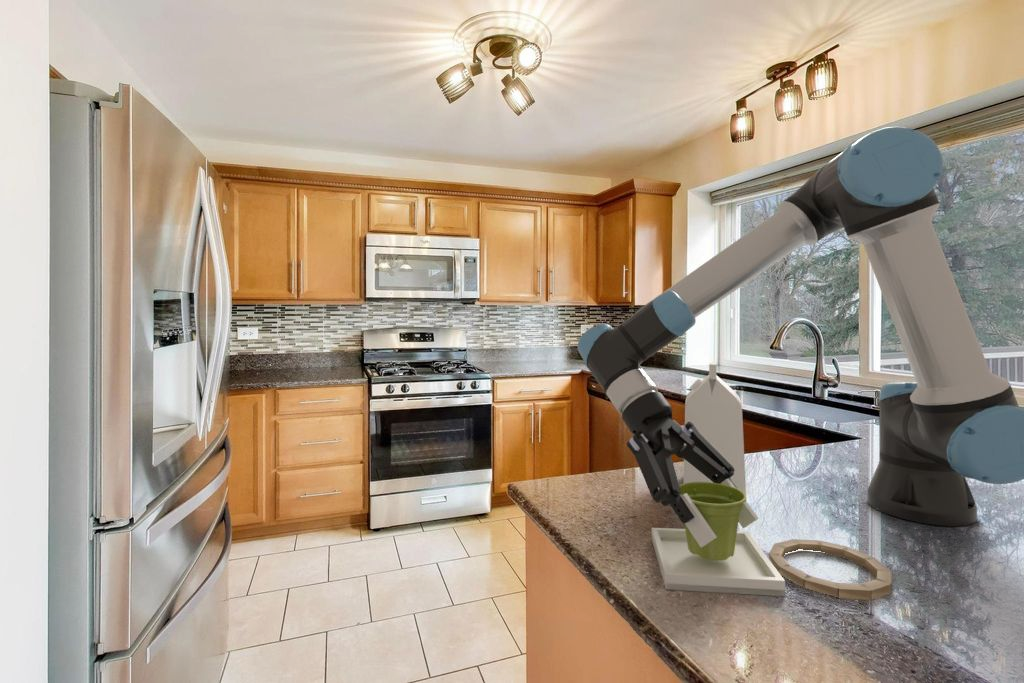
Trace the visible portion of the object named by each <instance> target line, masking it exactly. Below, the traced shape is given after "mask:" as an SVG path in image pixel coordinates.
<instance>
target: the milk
mask: <svg viewBox="0 0 1024 683" xmlns="http://www.w3.org/2000/svg"><path fill="white" fill-rule="evenodd" d="M717 366H718V365H717V361H709V366H708V367H709V368H708V375H706V376H705V377H704V378H703V379H701V378H700V377H699V378H697V380H695V381H694V382H693V383H692V384H691V385H690V387H689V388H690V389H691V390H690V391H689V392H688V393H687V394H686V398H685V404H684V409H685V410H684V425H685V424H686V423H687V422H692V423H693V424H694V426H695V427H696V429H697V430H698V432H699V433H700V434H701V435H702V436H703V437H704V438H705V439H706V440H707V441H708V442H709V443H710V444H711V445H712V446H713V447H714V448H715V449H716V450H717V451H718V452H719V453H720V454H721V455H722V456H723V457H724V458H725V459H726V460H727V461H728V462H729V463H730V464H731V466H732V467H733V468H734V470H735V471H734V475H733V476H731V477H730V479H731V481H732V482H733V483H734V485H735V486H736V487H737V489H739V490H741V491H743V492H744V493H745V494H746V495H747V490H746V489H747V488H746V487H747V486H746V484H747V483H746V467H745V466H746V464H745V443H744V440H745V439H744V424H743V422H744V421H743V406H742V401H741V397H740V396H739V394H737V392H735V390H734V389H732V387H730V386H729V385H728V384H727V383H726V382H725V381H724V380H723V379H722V378H721V377H720V376H718V375H717V370H718V368H717ZM685 445H686V444H685V443H684V446H685ZM723 468H724V467H723ZM716 476H717V475H716ZM689 482H711V483H714V482H712V481H711V480H710V479H709V478H707V477H706V476H705V475H704V474H702V473H701V472H700V471H699V470H697V469H696V468H695V467H694V466H693V465H691V464H690V463H689V462H688V461H686V460H685V459H684V458H683V483H682V484H684V483H689Z"/></svg>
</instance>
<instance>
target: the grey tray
mask: <svg viewBox="0 0 1024 683" xmlns="http://www.w3.org/2000/svg"><path fill="white" fill-rule="evenodd" d="M651 542H652V543H651V544H652V546H653V549H654V552H655V553H654V554H655V556H656V560H657V564H658V566H659V571H660V574H661V578H662V581H663V584H664V587H665V588H664V589H665V590H669V591H670V590H671V591H686V592H687V591H688V592H701V593H702V592H703V593H704V592H705V593H720V594H721V593H722V594H723V593H725V594H738V595H752V596H753V595H755V596H756V595H758V596H774V597H786V579H785V578H784V577H782V576H781V575H780V573H779V572H778V571H777V569H776V568H775V567H774V565H773V564H772V563H771V561H770V560H769V556H767V555H766V554H765V552H764V550H762V548H761V547H760V545H759V544H758V543H757V541H756V540H755V539H754V537H753V536H752V535H751V534H750V532H749V531H748V530H746V531H744V530H743V531H742V530H737V535H736V542H735V549H734V555H733V556H732V557H731V556H730V557H729V558H728V559H727V560H721V561H717V560H707V559H703V558H702V557H701V556H699V555H698V554H692V553H691V552H690V551H689V549H688V544H687V537H686V531H685V528H671V527H670V528H669V527H651Z"/></svg>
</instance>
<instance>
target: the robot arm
mask: <svg viewBox="0 0 1024 683" xmlns="http://www.w3.org/2000/svg"><path fill="white" fill-rule="evenodd" d="M943 162H944V161H943V156H942V153H941V150H940V148H939V147H938V145H937V143H936V142H935V141H934V140H933V139H932V138H931V137H929V136H928V135H927V134H925V133H924V132H921V131H920V130H917V129H912V128H909V127H906V126H890V127H883V128H881V129H877V130H874V131H872V132H870V133H868V134H865V135H864V136H863V137H861V138H858V139H857V140H854V141H853V142H851V143H850V144H849V145H848V146H847V147H846V148H845V149H844V150H843V151H842V152H840V153H839V154H837V155H836V156H835V157H833V158H832V159H831V160H829V161H828V162H826V163H824V165H822V166H821V167H820V168H819V169H818V170H817V171H816V172H815V173H814V174H813V175H812V176H811V177H810V178H809V179H808V180H807V181H805V183H804V184H802V185H801V186H800V187H799V188H798V189H797V190H795V192H793V193H792V194H791V195H789V196H788V197H787V198H785V199H784V200H783V201H781V202H780V203H779V204H778V207H777V212H775V213H774V214H772V215H771V216H769V217H768V218H767V219H765V220H764V221H762V222H761V223H760V224H758V225H757V226H755V227H754V228H752V229H751V230H750V231H748V232H746V234H745V233H744V235H742V236H741V237H740V238H738V239H737V240H735V241H734V242H732V243H731V244H730V245H728V246H726V248H724V249H722V250H721V251H720V252H718V253H717V254H716V255H714V256H712V257H711V258H710V259H709V260H707V261H705V262H704V263H702V264H701V265H699V267H697V268H696V269H695V270H693V271H692V272H690V273H688V274H687V275H686V276H684V277H683V278H682V279H680V280H678V281H677V282H676V283H675V284H673V285H671V286H670V287H669V288H667V289H666V290H665V291H663V292H662V293H661V294H659V295H657V296H656V297H654V298H653V299H652V300H651V301H649V302H647V303H646V304H645V305H642V306H641V307H639V308H638V309H636V311H634V314H632V315H631V316H630V317H629V318H627V319H626V320H625V321H623V323H621V324H619V325H618V326H616V327H612V325H610V324H608V323H600V324H596V326H592V327H590V328H588V329H587V330H586V331H585V332H584V333H583V334H581V336H580V337H579V339H578V342H577V351H578V353H579V354H580V356H581V358H582V360H583V361H584V363H585V366H586V368H587V369H588V370H589V372H590V373H591V374H592V375H591V376H593V378H594V379H595V380H596V382H597V384H598V385H599V386H600V388H601V389H602V390H603V392H604V394H605V395H606V396H607V397H608V399H609V400H610V402H611V403H612V405H613V407H614V408H615V409H616V411H617V412H618V414H619V415H621V419H622V421H623V422H624V424H625V425H626V427H627V429H629V431H630V432H631V434H632V436H631V438H630V439H629V440H628V441H626V446H627V447H628V448H629V450H630V452H631V453H632V454H633V455H634V458H635V460H636V462H637V464H638V467H639V469H640V471H641V474H642V477H643V479H644V481H645V483H646V484H645V485H647V488H648V491H649V493H650V496H651V497H652V498H651V499H652V500H653V501H654V502H655V503H661V504H662V506H664V507H667V506H669V505H670V507H671V508H672V510H673V511H674V512H675V514H676V516H677V517H678V518H679V520H680V522H682V523H683V524H684V525H685V524H686V526H687V527H688V529H689V531H690V532H691V534H692V535H693V537H694V538H695V540H696V541H697V543H698V544H699V546H700V547H704V546H705V545H707V544H708V543H710V542H711V541H712V540H714V539H715V538H717V536H716V535H715V534H714V532H713V531H712V529H711V528H710V526H709V525H708V523H707V522H706V520H705V519H704V517H703V516H702V515H701V513H700V512H699V510H698V509H697V507H696V506H695V504H694V503H693V502H692V500H691V499H690V497H689V496H688V494H687V493H685V494H683V495H682V496H680V495H681V491H680V487H679V485H680V484H679V481H678V477H677V473H676V469H675V465H674V461H673V457H672V455H675V456H676V457H677V458H679V459H683V460H684V459H685V460H686V461H688V462H689V463H690V464H691V465H693V466H694V467H695V468H696V469H697V470H699V471H700V472H701V473H702V474H704V475H705V476H706V477H707V478H709V479H710V480H711V481H712V482H714V483H719V484H724V485H728V486H732V487H734V488H737V487H736V486H735V485H734V483H733V482H732V481H731V479H730V477H731V476H733V475H734V471H735V470H734V468H733V467H732V466H731V464H730V463H729V462H728V461H727V460H726V459H725V458H724V457H723V456H722V455H721V454H720V453H719V452H718V451H717V450H716V449H715V448H714V447H713V446H712V445H711V444H710V443H709V442H708V441H707V440H706V439H705V438H704V437H703V436H702V435H701V434H700V433H699V432H698V430H697V429H696V427H695V426H694V424H693V423H692V422H687V423H686V424H685V423H684V424H683V425H680V424H679V422H677V421H676V420H674V418H673V407H672V406H671V404H670V403H669V402H668V400H667V399H666V398H665V396H664V395H663V394H662V393H661V392H659V391H658V389H659V388H658V387H657V385H656V384H655V382H654V381H653V380H652V378H651V377H650V376H649V374H647V372H646V371H645V370H644V368H643V367H642V366H641V364H642V363H643V362H645V361H647V360H648V359H650V357H652V356H653V355H655V354H656V353H657V352H659V351H661V350H662V349H663V348H665V347H666V346H668V345H669V344H671V343H672V342H674V341H676V340H677V339H678V338H680V337H682V336H684V334H685V333H686V332H687V331H689V330H691V329H692V327H694V326H695V324H696V323H697V322H696V318H697V317H698V316H700V315H701V314H703V313H704V312H705V311H708V309H710V308H712V307H713V306H714V305H717V303H719V302H721V301H722V300H723V299H725V298H727V297H728V296H729V295H732V293H734V292H735V291H737V290H739V289H740V288H741V287H743V286H744V285H746V284H748V283H749V282H750V281H752V280H753V279H755V278H757V276H759V275H760V274H762V273H764V272H765V271H766V270H768V269H769V268H771V267H772V266H774V265H775V264H777V263H778V262H780V261H781V260H783V259H784V258H786V257H787V256H789V255H790V254H792V253H793V252H795V251H796V250H797V249H799V248H800V247H802V246H804V245H806V246H807V245H808V246H812V245H815V244H816V243H818V242H819V241H821V240H822V239H825V237H828V236H829V235H831V234H833V233H835V232H837V231H839V230H841V229H844V230H845V233H846V236H847V238H848V239H851V240H853V241H855V242H858V243H861V245H863V247H864V250H865V252H866V255H867V257H868V258H867V259H868V261H869V263H870V265H871V268H872V271H873V273H874V276H875V278H876V282H877V284H878V287H879V289H880V292H881V294H882V297H883V298H884V302H885V304H886V307H887V310H888V312H889V314H890V317H891V320H892V323H893V325H894V327H895V330H896V333H897V335H898V338H899V341H900V344H901V345H902V348H903V351H904V354H905V356H906V359H907V361H908V364H909V366H910V369H911V372H912V374H913V377H914V379H915V382H887V383H885V384H883V385H882V386H881V387H880V392H879V399H878V406H879V408H878V409H879V410H878V412H879V414H878V415H879V416H878V417H879V419H878V420H879V422H878V423H879V424H878V425H879V428H878V429H879V430H878V431H879V438H878V439H879V442H878V443H879V451H878V452H879V455H878V458H879V459H878V464H877V466H876V469H875V471H874V473H873V476H872V478H871V480H870V482H869V485H868V487H867V491H866V492H867V496H866V497H867V503H868V504H869V505H870V506H871V507H872V508H874V509H876V510H878V511H880V512H882V513H884V514H887V515H889V516H892V517H895V518H900V519H903V520H906V521H907V520H908V521H911V522H916V523H922V524H928V525H935V526H943V527H944V526H947V527H961V526H963V527H964V526H969V525H973V524H975V523H976V522H977V521H978V507H977V503H976V501H975V499H974V496H973V493H972V492H971V489H970V486H969V482H968V481H967V478H968V479H971V480H976V481H978V482H979V481H980V482H982V483H985V484H992V485H1007V484H1014V483H1017V482H1020V481H1023V480H1024V407H1023V406H1019V403H1018V401H1017V398H1016V396H1015V393H1014V390H1013V387H1012V385H1011V383H1010V382H1009V380H1008V379H1006V378H1004V377H1002V376H1000V375H997V374H995V373H992V371H990V368H989V366H988V362H987V360H986V358H985V355H984V353H983V350H982V348H981V345H980V343H979V340H978V338H977V335H976V332H975V329H974V326H973V325H972V322H971V319H970V317H969V314H968V311H967V310H966V306H965V304H964V301H963V299H962V296H961V294H960V291H959V289H958V285H957V283H956V281H955V278H954V275H953V272H952V271H951V268H950V265H949V264H948V260H947V258H946V255H945V253H944V251H943V247H942V245H941V243H940V239H939V237H938V234H937V232H936V229H935V226H934V225H933V221H932V220H933V217H934V215H935V214H936V212H937V210H938V209H939V208H940V206H941V204H940V201H939V199H938V197H937V196H938V195H937V193H936V190H935V188H934V187H935V186H936V185H937V183H938V181H939V178H940V175H941V174H942V171H943V167H944V166H943ZM684 443H685V444H686V445H685V446H684ZM723 467H724V468H723ZM716 475H717V476H716ZM759 519H760V518H759V517H758V515H757V513H756V512H755V511H754V510H753V509H752V507H751V506H750V505H749V503H748V502H747V500H746V501H745V502H744V503H743V506H742V510H741V511H740V514H739V521H738V524H739V525H740V526H741V528H742V529H745V528H746V527H748V526H750V525H751V524H753V523H754V522H756V521H757V520H759Z"/></svg>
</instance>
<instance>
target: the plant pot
mask: <svg viewBox="0 0 1024 683" xmlns="http://www.w3.org/2000/svg"><path fill="white" fill-rule="evenodd" d="M679 487H680V491H681V495H680V496H682V495H683V494H685V493H687V494H688V496H689V497H690V499H691V500H692V502H693V503H694V504H695V506H696V507H697V509H698V510H699V512H700V513H701V515H702V516H703V517H704V519H705V520H706V522H707V523H708V525H709V526H710V528H711V529H712V531H713V532H714V534H715V535H716V536H717V538H715V539H714V540H712V541H711V542H710V543H708V544H707V545H705V546H704V547H700V546H699V544H698V543H697V541H696V540H695V538H694V537H693V535H692V534H691V532H690V531H689V529H688V527H687V526H686V524H684V529H685V531H686V537H687V544H688V549H689V551H690V552H691V553H692V554H698V555H699V556H701V557H702V558H703V559H707V560H717V561H721V560H727V559H728V558H729V557H730V556H731V557H732V556H733V555H734V549H735V542H736V535H737V531H738V529H739V528H738V526H739V522H738V521H739V514H740V511H741V510H742V506H743V503H744V502H745V501H746V502H747V493H746V494H745V493H744V492H743V491H741V490H739V489H737V488H734V487H732V486H728V485H724V484H719V483H711V482H689V483H684V484H683V483H681V484H679Z"/></svg>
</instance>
